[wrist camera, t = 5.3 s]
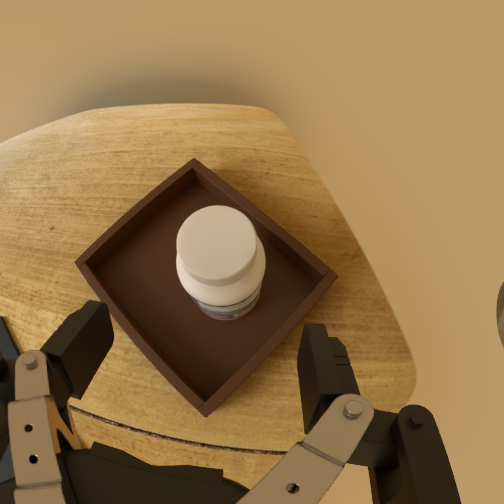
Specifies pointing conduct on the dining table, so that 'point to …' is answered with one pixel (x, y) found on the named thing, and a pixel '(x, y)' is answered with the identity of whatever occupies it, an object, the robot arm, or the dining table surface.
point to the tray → (180, 302)
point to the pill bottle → (220, 261)
